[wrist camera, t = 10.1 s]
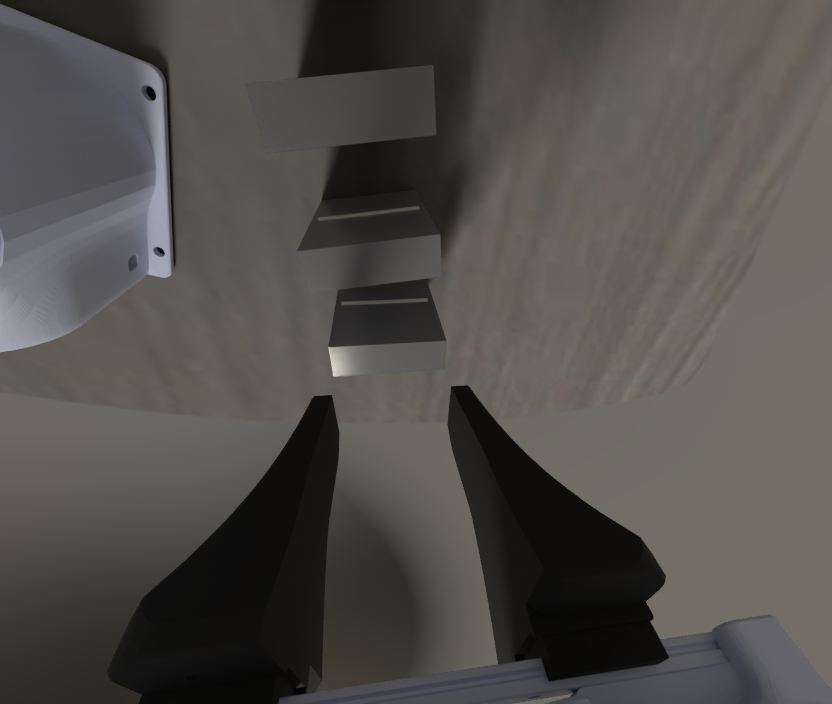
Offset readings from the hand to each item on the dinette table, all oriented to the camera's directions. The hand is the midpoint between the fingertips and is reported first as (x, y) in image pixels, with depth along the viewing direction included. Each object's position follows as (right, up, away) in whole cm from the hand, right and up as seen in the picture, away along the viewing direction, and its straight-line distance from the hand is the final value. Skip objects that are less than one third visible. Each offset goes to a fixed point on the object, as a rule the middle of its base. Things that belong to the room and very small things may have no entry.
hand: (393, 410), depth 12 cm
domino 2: (-2, +10, +6) cm, 11 cm away
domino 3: (-1, +6, +8) cm, 10 cm away
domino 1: (-2, +13, +3) cm, 14 cm away
